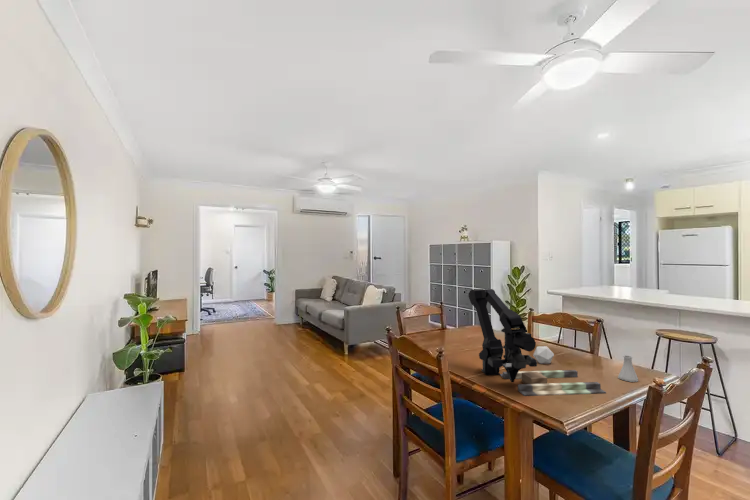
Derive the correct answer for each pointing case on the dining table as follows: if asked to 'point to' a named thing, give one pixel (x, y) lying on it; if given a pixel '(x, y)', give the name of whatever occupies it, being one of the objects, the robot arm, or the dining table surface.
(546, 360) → the die
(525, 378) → the walnut block
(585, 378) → the dining table surface
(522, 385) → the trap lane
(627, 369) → the flask
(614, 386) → the dining table surface
